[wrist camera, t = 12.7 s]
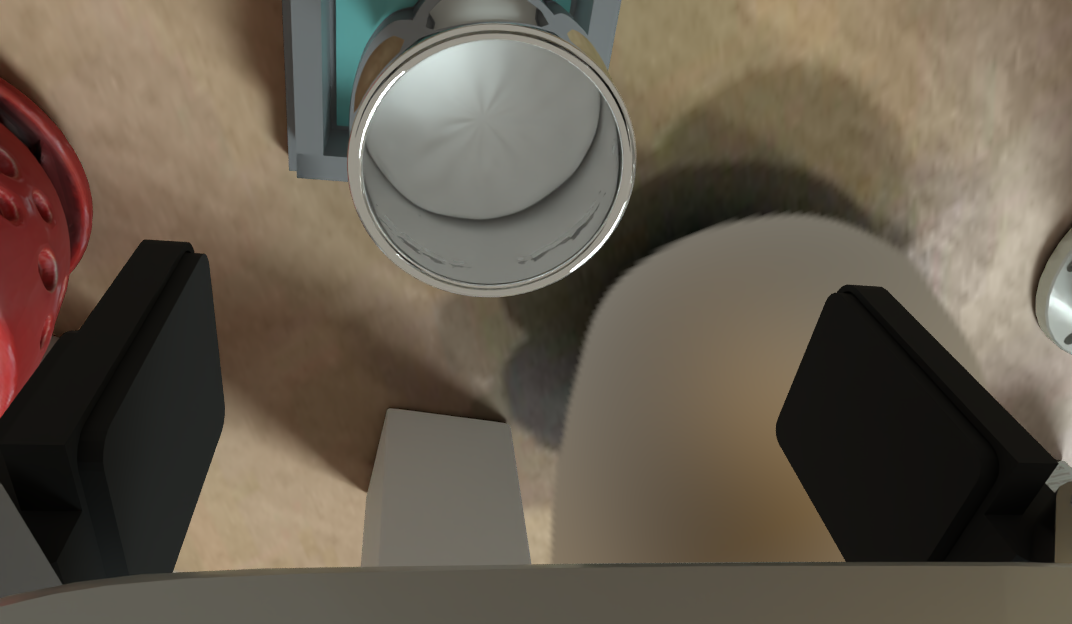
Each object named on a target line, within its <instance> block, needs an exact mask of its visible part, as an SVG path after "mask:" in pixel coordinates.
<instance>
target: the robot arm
mask: <svg viewBox="0 0 1072 624" xmlns="http://www.w3.org/2000/svg"><path fill="white" fill-rule="evenodd" d="M1036 316H1037V319H1038V323H1039V326H1040V328H1041V329H1042V331H1043V332H1044V334H1045V335H1046V337H1048V338H1049V339H1050V340H1051V341H1052V342H1053V343H1055V344H1056V345H1057V346H1058V347H1059V348H1061V349H1062V350H1064V351H1066V352H1067V353H1069V354H1071V355H1072V228H1071V229H1070V230H1069V231H1068V232H1067V234H1066V235H1065V236H1064V237H1063V239H1062V240H1061V241H1060V242H1059V244H1058V245H1057V247H1056V249H1055V250H1054V252H1053V253H1052V255H1051V257H1050V258H1049V260H1048V262H1047V264H1046V266H1045V269H1044V271H1043V273H1042V276H1041V278H1040V281H1039V285H1038V289H1037V294H1036ZM224 416H225V403H224V394H223V385H222V376H221V367H220V358H219V349H218V340H217V331H216V322H215V313H214V304H213V295H212V286H211V277H210V268H209V261H208V258H207V256H206V254H200V253H194V249H193V247H192V245H191V244H190V243H189V242H174V241H159V240H143V241H142V242H141V243H140V244H139V246H138V247H137V249H136V250H135V252H134V253H133V254H132V256H131V257H130V259H129V260H128V262H127V263H126V264H125V266H124V267H123V269H122V270H121V271H120V273H119V274H118V276H117V277H116V279H115V280H114V281H113V283H112V284H111V286H110V287H109V288H108V290H107V291H106V293H105V294H104V296H103V297H102V298H101V300H100V301H99V303H98V304H97V306H96V307H95V308H94V310H93V311H92V313H91V314H90V315H89V317H88V318H87V320H86V321H85V323H84V324H83V325H82V327H81V328H80V330H79V331H69V332H65V333H64V334H63V335H62V336H61V337H60V338H59V339H58V340H57V341H56V343H55V344H54V346H53V347H52V348H51V350H50V351H49V352H48V354H47V355H46V356H45V358H44V359H43V361H42V362H41V363H40V365H39V366H38V367H37V369H36V370H35V371H34V373H33V374H32V376H31V377H30V378H29V380H28V381H27V382H26V384H25V385H24V386H23V388H22V389H21V391H20V392H19V393H18V395H17V396H16V397H15V399H14V400H13V402H12V403H11V404H10V406H9V407H8V408H7V410H6V411H5V412H4V414H3V415H2V417H1V418H0V624H1072V481H1069V482H1067V483H1065V484H1063V485H1061V486H1059V488H1058V489H1057V491H1056V492H1055V493H1054V492H1053V491H1052V490H1051V489H1050V488H1049V486H1048V485H1047V484H1046V483H1045V482H1046V481H1047V480H1048V478H1049V477H1050V475H1051V474H1052V473H1053V471H1054V470H1055V468H1056V467H1057V465H1058V464H1059V463H1058V462H1057V461H1056V460H1055V459H1054V458H1053V457H1052V456H1051V455H1050V454H1049V453H1048V452H1047V451H1046V450H1045V449H1044V448H1043V447H1042V446H1041V445H1040V444H1039V443H1038V442H1037V441H1036V440H1035V439H1034V438H1033V437H1032V436H1031V435H1030V434H1029V433H1028V432H1027V431H1026V430H1025V429H1024V428H1023V427H1022V426H1021V425H1020V424H1019V423H1018V422H1017V421H1016V420H1015V419H1014V418H1013V417H1012V416H1011V415H1010V414H1009V413H1008V412H1007V411H1006V410H1005V409H1004V408H1003V407H1002V406H1001V405H1000V404H999V403H998V402H997V401H996V400H995V399H994V398H993V397H992V396H991V395H990V394H989V393H988V392H987V391H986V390H985V389H984V388H983V387H982V386H981V385H980V384H979V383H978V382H977V381H976V380H975V379H974V378H973V376H972V375H971V374H969V372H967V370H966V369H965V368H964V367H963V366H962V365H961V364H960V363H959V362H958V361H957V360H956V359H955V358H954V357H952V355H951V354H949V352H948V351H947V350H946V349H945V348H944V347H943V346H942V345H941V344H940V343H939V342H938V341H937V340H936V339H935V338H934V337H933V336H932V335H931V334H930V333H929V332H928V331H927V330H926V329H925V328H924V327H923V326H922V325H921V324H920V323H919V322H918V321H917V320H916V319H915V318H914V317H913V316H912V315H911V314H910V313H909V312H908V311H907V310H906V309H905V308H904V307H903V306H902V305H901V304H900V303H899V302H898V301H897V300H896V299H895V298H894V297H893V296H892V295H891V294H890V293H889V292H888V291H887V290H886V289H884V288H883V287H876V286H860V285H845V286H843V287H841V288H840V289H839V291H838V292H837V293H833V294H831V295H830V296H829V297H828V299H827V300H826V302H825V305H824V307H823V310H822V312H821V315H820V317H819V319H818V322H817V324H816V327H815V329H814V332H813V334H812V337H811V339H810V342H809V344H808V346H807V349H806V352H805V354H804V356H803V359H802V361H801V363H800V366H799V369H798V371H797V373H796V376H795V378H794V381H793V383H792V385H791V388H790V390H789V393H788V395H787V398H786V400H785V403H784V405H783V408H782V410H781V412H780V415H779V417H778V420H777V423H776V436H777V440H778V442H779V445H780V447H781V448H782V450H783V452H784V454H785V455H786V457H787V459H788V461H789V462H790V464H791V466H792V467H793V469H794V471H795V473H796V475H797V476H798V478H799V480H800V482H801V483H802V485H803V487H804V489H805V491H806V492H807V494H808V496H809V498H810V499H811V501H812V503H813V505H814V506H815V508H816V510H817V512H818V513H819V515H820V517H821V518H822V520H823V522H824V524H825V526H826V527H827V529H828V531H829V533H830V534H831V536H832V538H833V540H834V542H835V543H836V545H837V547H838V549H839V550H840V552H841V554H842V556H843V557H844V559H845V561H846V562H750V563H748V562H741V563H625V564H624V563H621V564H619V563H616V564H524V565H452V566H380V567H319V568H265V569H242V570H221V571H200V572H179V573H173V570H174V567H175V564H176V561H177V558H178V555H179V553H180V550H181V547H182V544H183V541H184V538H185V535H186V532H187V530H188V527H189V524H190V521H191V518H192V515H193V512H194V510H195V507H196V504H197V501H198V498H199V495H200V492H201V489H202V487H203V484H204V481H205V478H206V475H207V472H208V469H209V466H210V464H211V461H212V458H213V455H214V452H215V449H216V446H217V443H218V441H219V438H220V435H221V432H222V428H223V424H224Z"/></svg>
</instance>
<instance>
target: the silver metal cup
mask: <svg viewBox="0 0 1072 624" xmlns="http://www.w3.org/2000/svg"><path fill="white" fill-rule="evenodd" d="M635 173H636V142H635V135H634V130H633V125H632V122H631V118H630V115H629V112H628V110H627V107H626V105H625V103H624V101H623V99H622V97H621V95H620V93H619V91H618V90H617V88H616V86H615V85H614V83H613V80H612V78H611V76H610V74H609V72H608V70H607V68H606V66H605V64H604V61H603V60H602V58H601V56H600V54H599V52H598V51H597V49H596V47H595V46H594V44H593V43H592V41H591V40H590V38H589V37H588V35H587V34H586V32H585V31H584V30H583V28H582V27H581V26H580V24H579V23H578V22H577V21H576V20H575V19H574V18H573V17H572V16H571V15H570V14H569V13H568V12H567V11H566V10H565V9H564V8H563V7H562V6H561V5H560V4H559V3H558V2H557V1H556V0H386V5H385V11H384V14H383V16H382V17H381V18H380V19H379V21H378V22H377V24H376V25H375V27H374V29H373V30H372V32H371V34H370V36H369V38H368V40H367V42H366V44H365V47H364V49H363V52H362V54H361V57H360V59H359V62H358V65H357V68H356V72H355V76H354V80H353V85H352V92H351V99H350V107H349V143H348V151H347V174H348V182H349V188H350V193H351V197H352V200H353V203H354V206H355V209H356V211H357V214H358V216H359V218H360V220H361V223H362V224H363V226H364V228H365V230H366V231H367V233H368V234H369V236H370V237H371V239H372V240H373V242H374V243H375V244H376V245H377V247H378V248H379V249H380V250H381V251H382V252H383V253H384V254H385V255H386V256H387V257H388V258H389V259H390V260H391V261H392V262H393V263H394V264H396V265H397V266H398V267H399V268H401V269H402V270H403V271H405V272H406V273H408V274H409V275H411V276H413V277H414V278H416V279H418V280H420V281H422V282H424V283H426V284H428V285H430V286H433V287H435V288H438V289H441V290H444V291H447V292H451V293H455V294H460V295H466V296H474V297H503V296H511V295H517V294H522V293H526V292H530V291H534V290H537V289H540V288H542V287H545V286H547V285H550V284H552V283H554V282H556V281H558V280H560V279H562V278H564V277H566V276H567V275H569V274H570V273H572V272H574V271H575V270H577V269H578V268H579V267H581V266H582V265H583V264H584V263H586V262H587V261H588V260H589V259H590V258H591V257H593V256H594V255H595V254H596V253H597V252H598V251H599V249H600V248H601V247H602V246H603V245H604V244H605V243H606V241H607V240H608V239H609V237H610V236H611V235H612V233H613V232H614V230H615V229H616V227H617V225H618V224H619V222H620V220H621V218H622V216H623V214H624V212H625V210H626V207H627V205H628V202H629V199H630V196H631V193H632V189H633V185H634V180H635Z"/></svg>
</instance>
